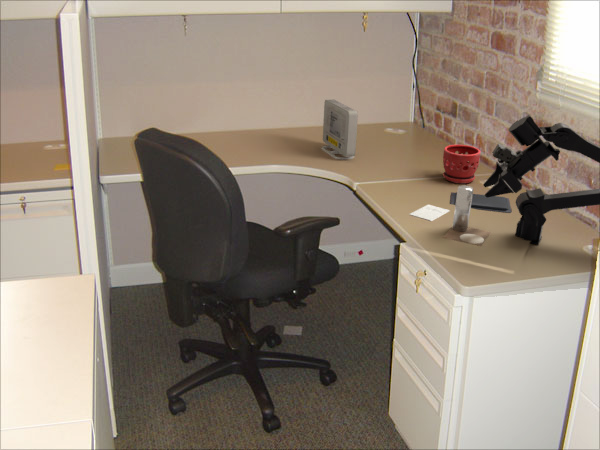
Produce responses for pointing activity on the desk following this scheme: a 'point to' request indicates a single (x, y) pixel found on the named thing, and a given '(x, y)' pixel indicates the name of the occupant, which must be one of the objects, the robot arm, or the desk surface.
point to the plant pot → (460, 163)
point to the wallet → (486, 203)
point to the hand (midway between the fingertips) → (484, 191)
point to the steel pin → (462, 208)
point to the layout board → (468, 236)
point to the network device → (339, 129)
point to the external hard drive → (429, 212)
